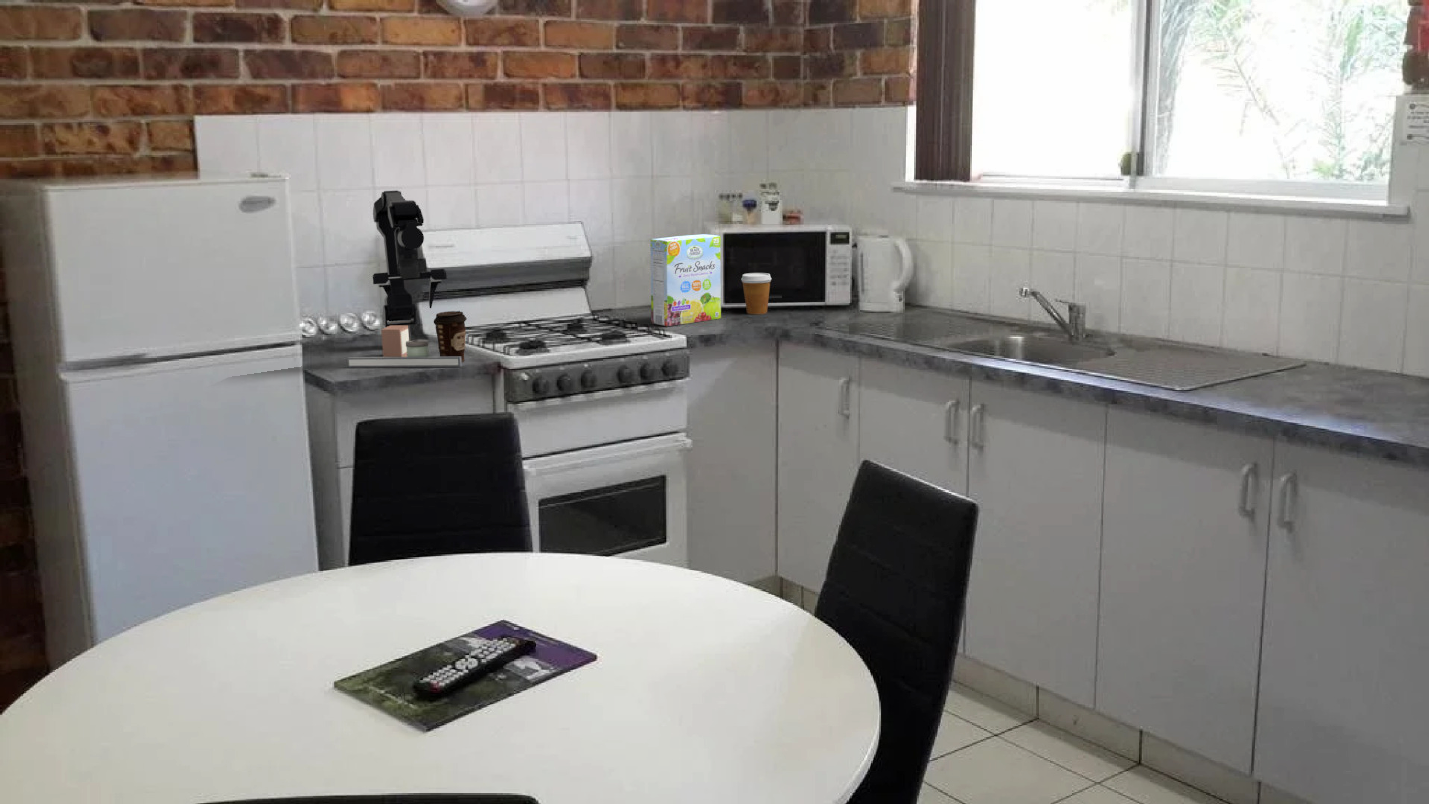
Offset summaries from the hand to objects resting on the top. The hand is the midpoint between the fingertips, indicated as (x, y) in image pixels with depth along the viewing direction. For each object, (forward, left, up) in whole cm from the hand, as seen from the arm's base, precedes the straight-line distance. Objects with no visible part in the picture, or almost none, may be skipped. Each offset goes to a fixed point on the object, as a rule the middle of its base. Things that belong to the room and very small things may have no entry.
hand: (412, 309), depth 354 cm
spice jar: (+4, +2, -14) cm, 14 cm away
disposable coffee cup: (-78, +84, -14) cm, 116 cm away
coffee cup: (+1, +10, -14) cm, 17 cm away
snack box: (-62, +64, -14) cm, 90 cm away
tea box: (-7, -8, -14) cm, 17 cm away
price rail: (+8, -1, -14) cm, 16 cm away
